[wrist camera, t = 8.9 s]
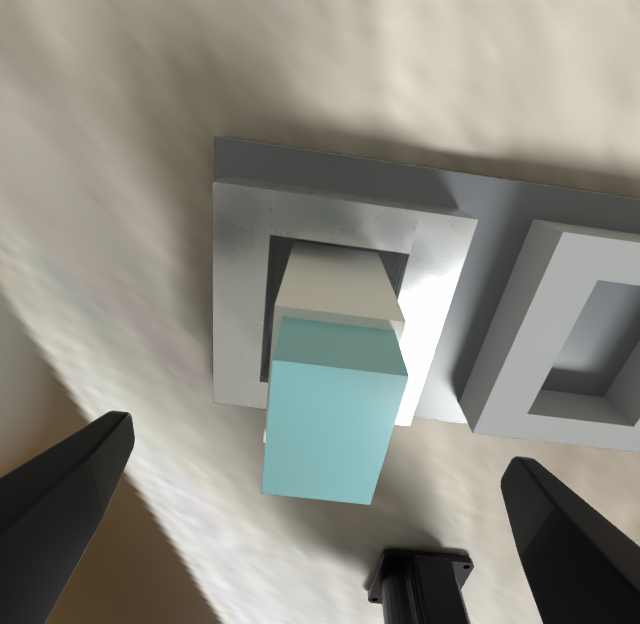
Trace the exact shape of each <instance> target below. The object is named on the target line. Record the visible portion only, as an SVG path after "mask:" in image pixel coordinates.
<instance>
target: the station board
mask: <svg viewBox="0 0 640 624" xmlns="http://www.w3.org/2000/svg"><path fill="white" fill-rule="evenodd" d="M227 175H232V176H239V177H246V178H252V179H259V180H266V181H273V182H280V183H287V184H294V185H301V186H308V187H315V188H322V189H329V190H336V191H343V192H350V193H357V194H364V195H370V196H377V197H384V198H391V199H398V200H405V201H412V202H419V203H426V204H433V205H440V206H447V207H454V208H459V209H461V210H463V211H464V212H466V213H468V214H470V215H471V216H473V217H475V218H476V219H478V222H477V225H476V228H475V231H474V234H473V237H472V240H471V243H470V246H469V249H468V252H467V255H466V258H465V261H464V264H463V267H462V270H461V273H460V276H459V279H458V282H457V285H456V288H455V291H454V294H453V297H452V300H451V303H450V306H449V309H448V312H447V315H446V318H445V321H444V324H443V327H442V330H441V333H440V336H439V339H438V342H437V345H436V348H435V351H434V354H433V357H432V360H431V363H430V366H429V369H428V372H427V375H426V378H425V381H424V384H423V386H422V389H421V392H420V395H419V398H418V401H417V404H416V407H415V410H414V413H413V416H412V417H415V418H423V419H432V420H440V421H449V422H457V423H466V424H468V422H467V420H466V418H465V416H464V414H463V412H462V410H461V408H460V405H459V402H460V399H461V397H462V394H463V392H464V389H465V387H466V384H467V382H468V380H469V377H470V375H471V372H472V370H473V367H474V365H475V362H476V360H477V357H478V355H479V352H480V350H481V347H482V345H483V342H484V340H485V337H486V335H487V333H488V330H489V328H490V325H491V323H492V320H493V318H494V315H495V313H496V310H497V308H498V305H499V303H500V300H501V298H502V295H503V293H504V290H505V288H506V286H507V283H508V281H509V278H510V276H511V273H512V271H513V268H514V266H515V263H516V261H517V258H518V256H519V253H520V251H521V248H522V246H523V243H524V241H525V239H526V236H527V234H528V231H529V229H530V226H531V224H532V221H533V219H537V220H544V221H551V222H558V223H565V224H572V225H579V226H586V227H593V228H600V229H606V230H613V231H620V232H627V233H634V234H640V198H633V197H626V196H619V195H613V194H606V193H599V192H593V191H586V190H579V189H572V188H566V187H559V186H552V185H545V184H539V183H532V182H525V181H518V180H512V179H505V178H498V177H492V176H485V175H478V174H471V173H465V172H458V171H451V170H444V169H438V168H431V167H424V166H417V165H411V164H404V163H397V162H391V161H384V160H377V159H370V158H364V157H357V156H350V155H343V154H337V153H330V152H323V151H316V150H310V149H303V148H296V147H289V146H283V145H276V144H269V143H263V142H256V141H249V140H242V139H236V138H229V137H222V136H216V137H215V180H218V179H220V178H222V177H224V176H227ZM294 241H295V242H303V243H310V244H317V245H325V246H332V247H339V248H347V249H354V250H361V251H369V252H376V253H378V254H379V256H380V259H381V261H382V263H383V266H384V268H385V271H386V273H387V276H388V278H389V281H390V277H391V273H392V269H393V265H394V260H395V256H396V252H392V251H385V250H377V249H370V248H363V247H356V246H348V245H341V244H334V243H327V242H319V241H312V240H305V239H297V238H290V237H283V236H276V244H275V256H274V269H273V282H272V294H271V307H270V319H269V332H268V345H267V356H270V355H271V343H272V331H273V319H274V307H275V302H276V299H277V296H278V293H279V289H280V286H281V283H282V280H283V276H284V273H285V270H286V267H287V263H288V260H289V257H290V254H291V250H292V247H293V244H294ZM639 341H640V286H639V285H631V284H624V283H617V282H610V281H602V280H597V282H596V284H595V286H594V288H593V290H592V292H591V294H590V296H589V297H588V299H587V301H586V303H585V305H584V307H583V309H582V311H581V313H580V315H579V316H578V318H577V320H576V322H575V324H574V326H573V328H572V330H571V332H570V334H569V335H568V337H567V339H566V341H565V343H564V345H563V347H562V349H561V351H560V353H559V354H558V356H557V358H556V360H555V362H554V364H553V366H552V368H551V370H550V372H549V373H548V375H547V377H546V379H545V381H544V383H543V385H542V387H541V390H549V391H557V392H565V393H573V394H581V395H589V396H597V397H604V396H605V394H606V393H607V391H608V389H609V388H610V386H611V385H612V383H613V382H614V380H615V378H616V377H617V375H618V374H619V372H620V371H621V369H622V367H623V366H624V364H625V363H626V361H627V360H628V358H629V356H630V355H631V353H632V352H633V350H634V349H635V347H636V346H637V344H638V342H639Z"/></svg>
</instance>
